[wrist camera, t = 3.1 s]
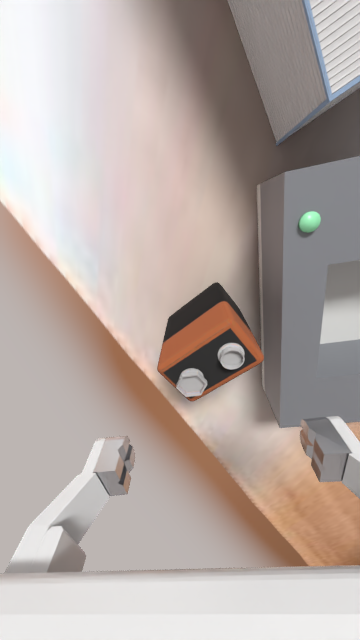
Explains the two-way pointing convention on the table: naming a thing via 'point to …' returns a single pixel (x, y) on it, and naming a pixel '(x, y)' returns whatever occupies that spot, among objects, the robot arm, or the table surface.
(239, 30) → the white slatted block
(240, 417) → the table surface
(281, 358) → the dock
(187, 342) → the battery
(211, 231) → the table surface
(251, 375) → the table surface
